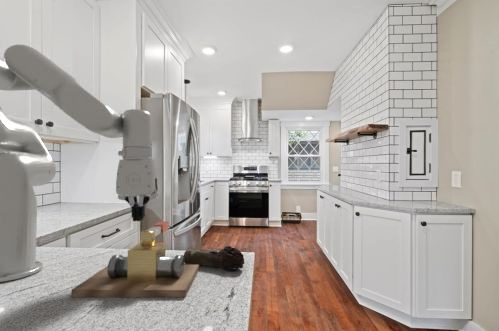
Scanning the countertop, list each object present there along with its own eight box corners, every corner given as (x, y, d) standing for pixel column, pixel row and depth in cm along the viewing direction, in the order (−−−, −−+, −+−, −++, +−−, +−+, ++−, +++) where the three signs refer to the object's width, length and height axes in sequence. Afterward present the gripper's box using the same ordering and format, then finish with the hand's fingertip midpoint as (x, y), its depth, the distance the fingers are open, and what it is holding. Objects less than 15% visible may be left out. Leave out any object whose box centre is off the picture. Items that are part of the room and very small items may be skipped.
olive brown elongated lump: (182, 266, 73) (182, 246, 73) (195, 259, 79) (196, 240, 80) (239, 275, 67) (239, 253, 67) (249, 266, 73) (249, 246, 73)
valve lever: (151, 246, 60) (152, 232, 60) (138, 246, 60) (138, 232, 60) (169, 233, 74) (169, 221, 74) (158, 233, 74) (158, 221, 74)
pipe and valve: (105, 283, 58) (105, 250, 58) (120, 271, 65) (120, 242, 65) (177, 283, 58) (177, 250, 59) (184, 271, 65) (185, 242, 65)
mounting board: (71, 297, 54) (71, 289, 54) (109, 270, 69) (109, 264, 69) (185, 297, 54) (185, 289, 54) (198, 270, 69) (199, 264, 69)
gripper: (103, 154, 68) (103, 223, 68) (159, 153, 68) (160, 222, 68) (117, 156, 76) (118, 218, 75) (168, 155, 76) (169, 217, 75)
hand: (138, 220), depth 72 cm, fingers closed
